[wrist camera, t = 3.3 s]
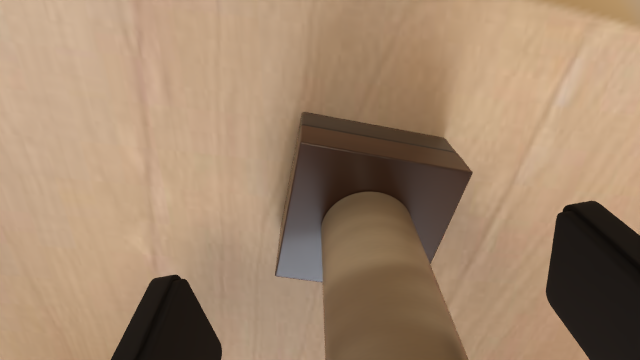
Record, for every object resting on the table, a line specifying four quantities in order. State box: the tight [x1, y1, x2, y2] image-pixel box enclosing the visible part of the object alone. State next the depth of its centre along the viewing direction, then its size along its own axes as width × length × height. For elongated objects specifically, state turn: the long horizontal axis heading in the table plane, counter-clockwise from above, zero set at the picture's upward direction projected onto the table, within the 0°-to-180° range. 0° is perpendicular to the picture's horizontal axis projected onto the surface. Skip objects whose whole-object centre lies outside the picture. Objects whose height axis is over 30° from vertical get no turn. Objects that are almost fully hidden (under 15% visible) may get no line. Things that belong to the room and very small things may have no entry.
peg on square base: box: [275, 112, 472, 360], centre depth 10 cm, size 5×5×8 cm
